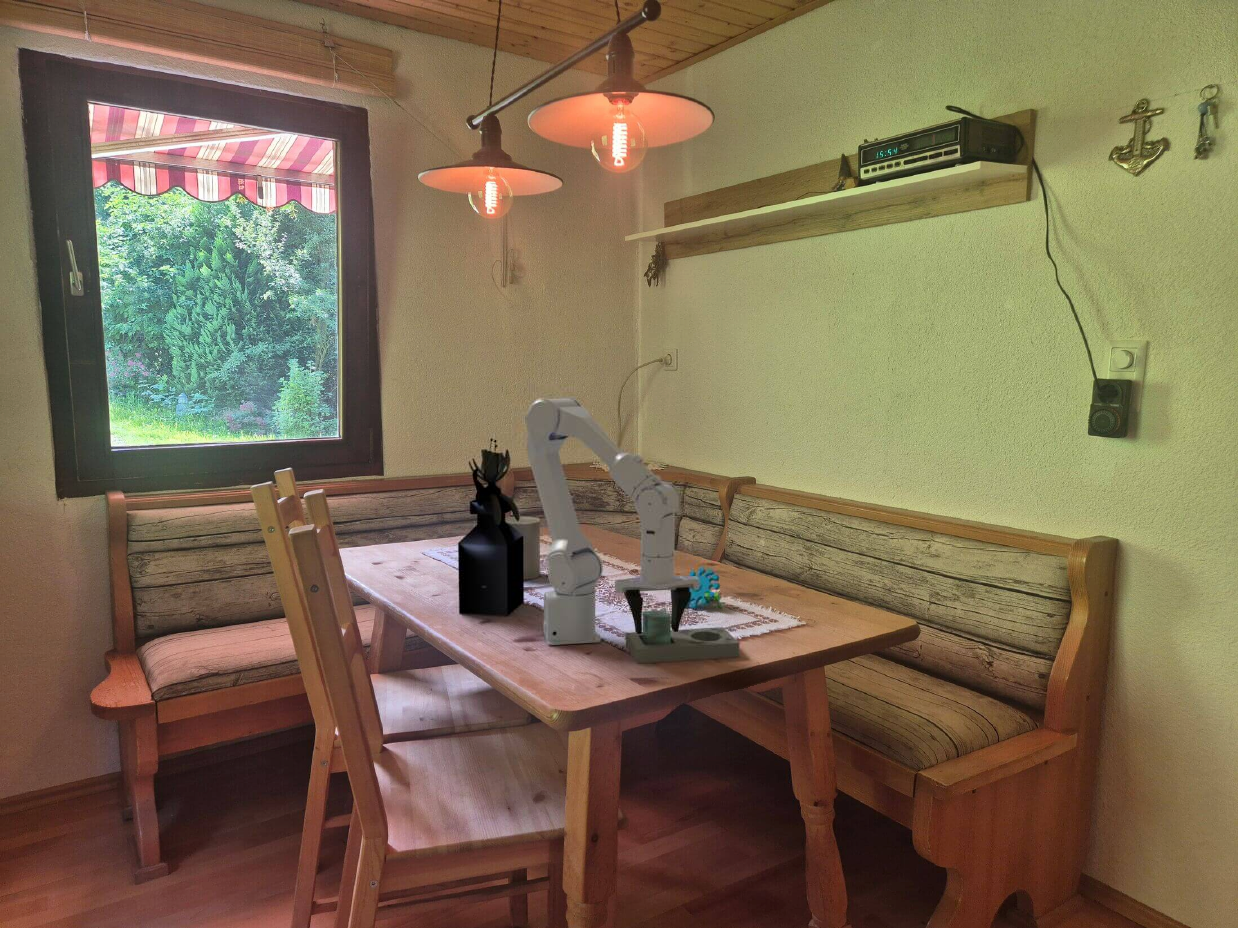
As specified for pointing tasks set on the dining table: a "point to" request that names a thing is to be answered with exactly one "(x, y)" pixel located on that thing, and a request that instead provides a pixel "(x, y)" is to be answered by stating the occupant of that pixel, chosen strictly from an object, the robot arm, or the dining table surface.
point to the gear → (705, 589)
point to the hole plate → (685, 646)
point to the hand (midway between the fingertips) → (656, 631)
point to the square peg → (656, 627)
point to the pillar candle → (529, 543)
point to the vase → (491, 546)
